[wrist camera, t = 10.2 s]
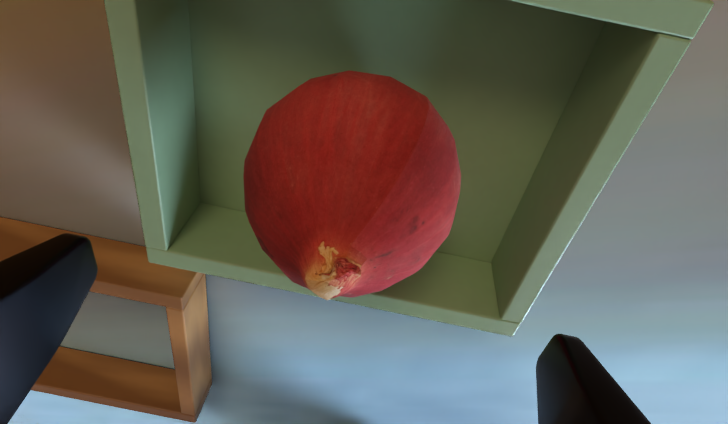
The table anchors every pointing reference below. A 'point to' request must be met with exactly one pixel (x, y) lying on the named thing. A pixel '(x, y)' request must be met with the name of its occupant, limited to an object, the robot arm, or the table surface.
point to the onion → (351, 183)
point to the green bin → (425, 75)
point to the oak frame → (119, 376)
